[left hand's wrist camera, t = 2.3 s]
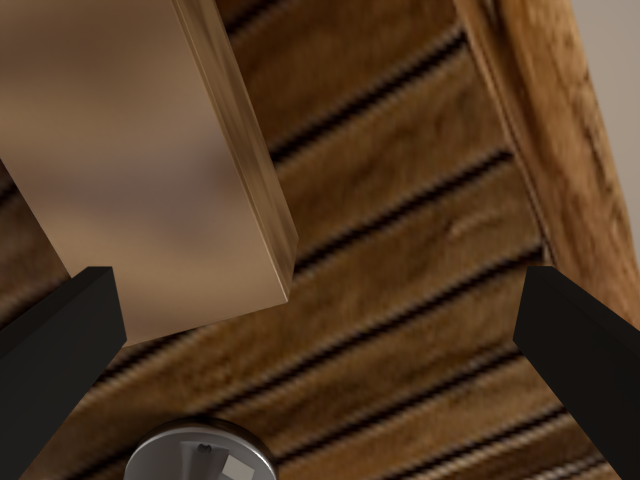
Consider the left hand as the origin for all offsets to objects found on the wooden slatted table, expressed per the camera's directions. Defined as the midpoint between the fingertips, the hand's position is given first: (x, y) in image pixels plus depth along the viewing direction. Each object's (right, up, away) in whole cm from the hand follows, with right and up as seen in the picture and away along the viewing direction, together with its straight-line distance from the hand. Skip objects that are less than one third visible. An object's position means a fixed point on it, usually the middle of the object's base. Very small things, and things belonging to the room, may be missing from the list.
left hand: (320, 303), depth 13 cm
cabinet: (-10, +9, +16) cm, 21 cm away
